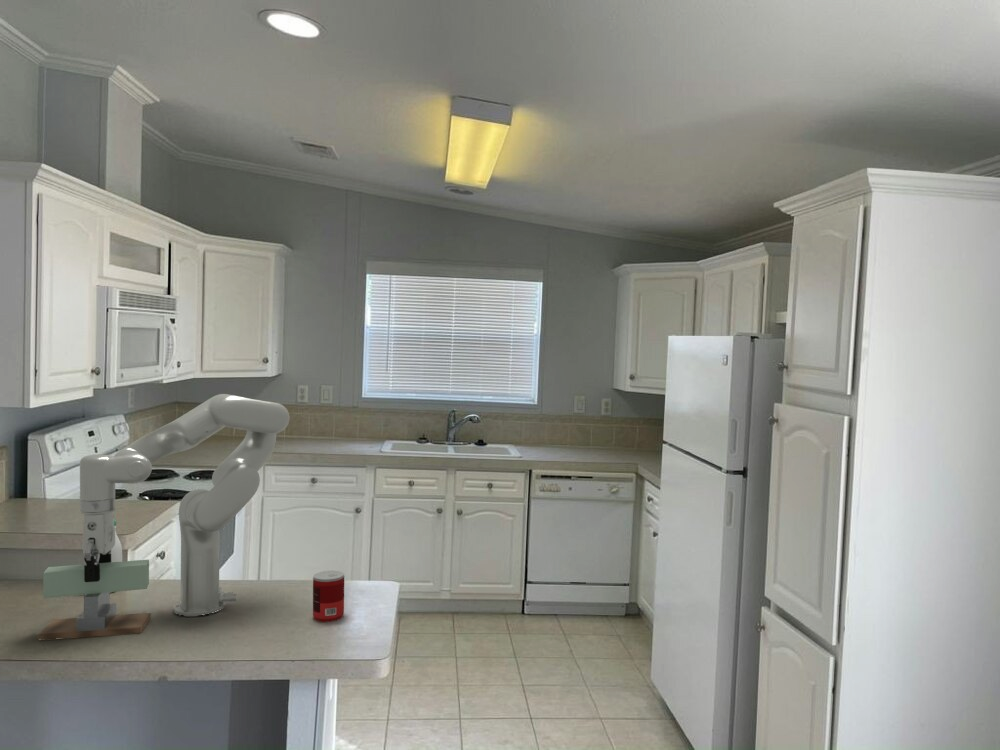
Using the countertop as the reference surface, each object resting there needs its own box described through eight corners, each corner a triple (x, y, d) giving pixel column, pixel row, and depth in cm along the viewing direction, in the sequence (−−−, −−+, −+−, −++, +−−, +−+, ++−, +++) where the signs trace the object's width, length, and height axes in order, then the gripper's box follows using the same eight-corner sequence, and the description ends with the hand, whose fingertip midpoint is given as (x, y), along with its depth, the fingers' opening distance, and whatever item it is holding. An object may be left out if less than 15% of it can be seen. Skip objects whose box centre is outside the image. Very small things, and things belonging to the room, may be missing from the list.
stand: (150, 618, 183) (150, 581, 183) (141, 633, 173) (141, 593, 173) (53, 625, 177) (53, 587, 177) (38, 640, 168) (38, 600, 167)
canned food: (349, 614, 188) (350, 572, 188) (330, 624, 181) (330, 580, 181) (326, 609, 191) (326, 568, 191) (306, 619, 184) (306, 576, 184)
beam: (148, 583, 181) (149, 559, 181) (146, 588, 177) (147, 564, 177) (48, 591, 174) (48, 567, 173) (43, 598, 169) (43, 572, 169)
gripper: (104, 512, 167) (105, 585, 168) (124, 498, 184) (124, 564, 184) (68, 514, 165) (69, 587, 166) (91, 499, 182) (91, 566, 183)
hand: (98, 575), depth 175 cm, fingers open, 9 cm apart
